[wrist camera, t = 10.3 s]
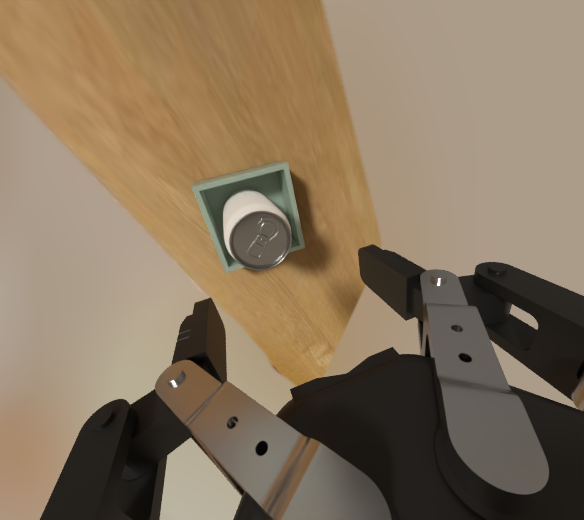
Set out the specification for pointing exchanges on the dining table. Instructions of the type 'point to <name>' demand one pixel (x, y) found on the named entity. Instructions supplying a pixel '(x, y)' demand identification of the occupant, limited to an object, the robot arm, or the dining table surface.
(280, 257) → the can
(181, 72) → the dining table surface
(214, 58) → the dining table surface
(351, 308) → the dining table surface
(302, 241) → the bin
